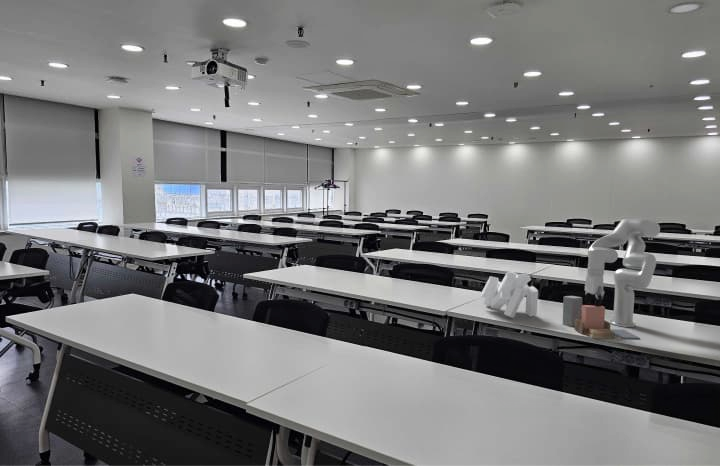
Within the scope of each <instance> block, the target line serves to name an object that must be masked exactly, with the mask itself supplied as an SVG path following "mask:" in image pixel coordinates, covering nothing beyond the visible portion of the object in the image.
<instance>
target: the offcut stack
mask: <svg viewBox="0 0 720 466" xmlns="http://www.w3.org/2000/svg"><path fill="white" fill-rule="evenodd" d="M587 336H588V337H589V338H591V339H614V334H613V333H612V331H611V330H609V329H589V333H588V334H587Z"/></svg>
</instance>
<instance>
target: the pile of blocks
mask: <svg viewBox="0 0 720 466" xmlns="http://www.w3.org/2000/svg"><path fill="white" fill-rule="evenodd" d="M531 280H532V278H531V276H530V274H528V273H524V272H522V273H520V274H518V273H516V271H507V272H506V273H505V275H504V277H503V279H502V281H499V277H496V276H492V275H491V276H489V278H488V280H487V281H486V283H485V285H484V287H483V289H482V291H481V298H483V299H484V302H483V304H484V305H485V306H487V307H489V306H491V307H490V308H492V309H496V310H501V308H503V307H504V306H506V308H505V310H504V313H503V315H505V316H507V317H509V318H512V319H514V317H515V316H516V313H517V312H518V309H519V308H520V304H521V303H522V302H523V300H524V298H525V313H526V314H527V315H528V316H529V317H530V318H531V317H536V316H537V313H538V301H539V300H538V298H539V290H538V289H537V288H536V287H535V286H533V285H532V286H529V285H528V283H530V282H531Z"/></svg>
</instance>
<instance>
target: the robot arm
mask: <svg viewBox="0 0 720 466" xmlns="http://www.w3.org/2000/svg"><path fill="white" fill-rule="evenodd" d="M660 232H661V226H660V224H659V223H658V222H656V221H653V220H649V219H644V218H629V217H628V218H624V219H622V220H620V222H618V224H617V225H616V227H615V228H614V229H613V230H612V231H611V233H608V234H606V235H604V236H602V237H600V238H598V239H596V240H595V241H594V242H592V244H591V246H590V247H589V248H588V251H587V257H588V261H587V262H588V263H587V272H586V273H587V274H586V278H585V284H584V291H585V293H584V294H585V299H584V302H585V303H592V302H593V301H592V299H593V295H595V301H594V305H595V306H596V307H601V306H603V305H602V304H603V303H602V302H603V299H604V296H605V293H606V292H605V290H604V276H605V263H609V264H612V263H614V262H616V261H617V260H618V258H619V253H618V251H616V249H614V248H616V247H620V246H623V245H625V244H626V243H628V244H627V247H626V250H625V253H624V256H623V259H622V266H623V267H625V268H618V269H617V270H615V271H614V273H613V279H614V281H613V282H614V301H613V313H612V314H611V318H612V319H609V323H611V324H610V325H614V326H617V327H623V328H635V327H636V325H637V323H635V322H633V321H634V319H633V318H634V305H635V291H634V290H633V288H636V289H647V288H649V286H650V284H651V281H652V278H653V275H654V272H655V269H656V266H657V258H656V256H655V255H653V253H648V252H647V253H646V252H645V250H646V247H647V246H646V244H645V241H644V240H643V238H642V237H648V238H649V237H650V238H655V237H657V236H659V234H660Z"/></svg>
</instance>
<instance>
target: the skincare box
mask: <svg viewBox="0 0 720 466" xmlns="http://www.w3.org/2000/svg"><path fill="white" fill-rule="evenodd" d="M562 301H563V302H562V304H563V305H562V306H563V307H562V324H563V325H566V326H570V327H575V319H578V320H580V321H581V318H582V305H583V297H581V296H575V295H566V296H564V295H563V299H562Z"/></svg>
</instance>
